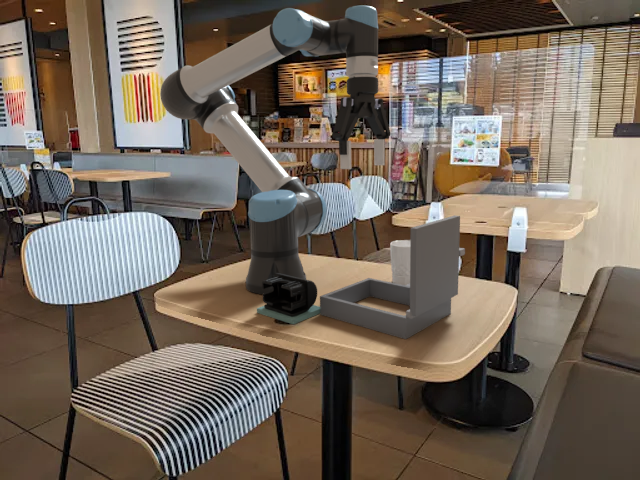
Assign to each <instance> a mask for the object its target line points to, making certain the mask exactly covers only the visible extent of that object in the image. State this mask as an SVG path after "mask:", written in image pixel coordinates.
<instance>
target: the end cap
mask: <svg viewBox="0 0 640 480" xmlns="http://www.w3.org/2000/svg"><path fill="white" fill-rule="evenodd" d="M271 286H272V288H273V289H272V291H271V292H269V293H266V294H262V301H263V303H264V305H263V306H264V308H265V309H269V310H272V311H275V312H278V313H281V314H285V315H288V316H291V317H295V316H297V315H300V314H302V313H305V312H307V311H308V310H309V309H310V308H311V307H312V306H313V305H315V303H316V300H317V298H318V287H317V285H316V283H315V282H314V281H313V280H309V279H307V278H306V279H302V278H297V277H293V276H289V275H285V274H280V273H275V274H274V278H272V279H268V280H265V281H263V282H262V289H265V288H268V287H271Z"/></svg>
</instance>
